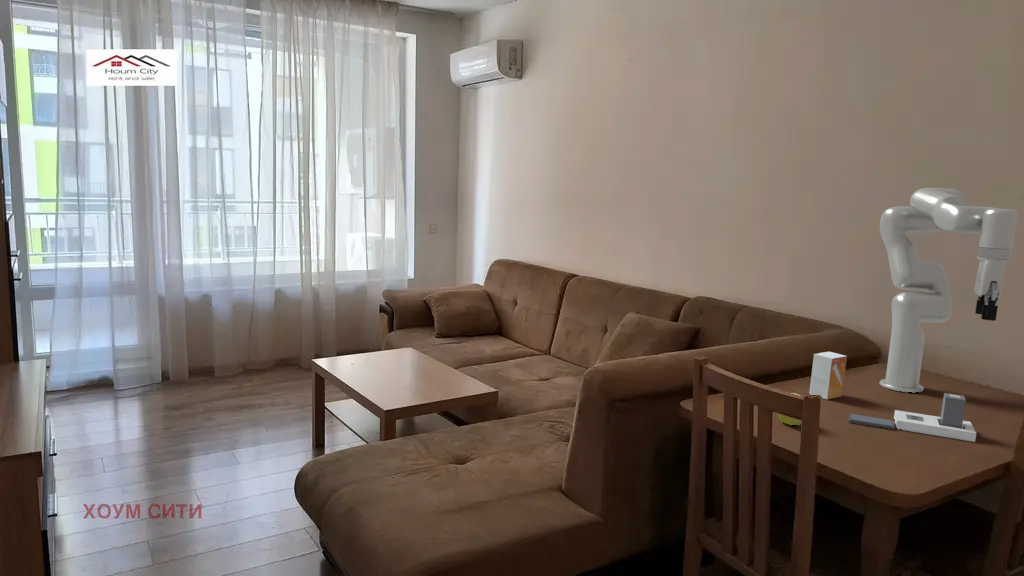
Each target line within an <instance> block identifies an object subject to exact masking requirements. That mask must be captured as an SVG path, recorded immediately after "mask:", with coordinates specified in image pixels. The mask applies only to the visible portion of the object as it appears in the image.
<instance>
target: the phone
mask: <svg viewBox="0 0 1024 576" xmlns="http://www.w3.org/2000/svg"><path fill="white" fill-rule="evenodd" d="M848 423H849V424H854V423H855V425H860V424H862V425H861V426H866V425H870V426H869V427H872V426H876V427H875V428H878V427H883V428H882V429H884V428H888V429H887V430H890V429H893V430H892V431H894V430H895V429H896V426H895V421H894V419H893V420H892V419H887V418H880V417H874V416H868V415H862V414H855V413H848Z"/></svg>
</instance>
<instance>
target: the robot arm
mask: <svg viewBox="0 0 1024 576" xmlns="http://www.w3.org/2000/svg"><path fill="white" fill-rule="evenodd" d="M964 199H965V198H964V196H963V194H962V193H961V192H960V191H959V190H958V189H955V188H948V187H947V188H946V187H944V188H943V187H942V188H941V187H924V188H920V189H918V190H915V191H914V192H913V193H912V194H911V196H910V200H909V204H910V205H909V206H906V205H898V206H891V207H889V208H887V209H886V210H884V211H883V213H882V214H881V217H880V221H879V232H880V237H881V239H882V242H883V244H884V246H885V249H886V252H887V258H888V264H889V265H888V266H889V270H890V276H891V281H892V283H893V285H894V287H895V288H897V289H900V290H906V291H904V292H899V293H898V294H895V296H893V298H892V300H891V303H890V304H891V306H890V307H891V308H890V309H891V332H890V342H889V349H888V357H887V366H886V373H885V378H883V379H880V380H879V385H880V386H882V387H883V388H884V389H889V390H892V391H896V392H900V391H901V393H908V392H912V393H913V394H917V393H916V392H919V393H923V391H924V390H925V387H924V386H923V385H922V384H920V378H921V377H920V376H921V371H922V370H921V368H922V362H923V354H924V346H925V337H926V336H925V332H924V330H923V328H922V327H921V325H920V323H945V322H947V321H949V320H950V318H951V317H952V315H953V311H954V310H953V309H954V308H953V307H954V306H953V300H952V299H953V298H952V293H951V288H950V284H949V283H950V282H949V279H948V274H947V272H946V269H945V268H944V267H943V265H942V264H940V263H939V262H936V261H930V260H929V261H926V260H923V261H922V260H920V258H919V255H918V249H917V246H916V245H915V243H914V242H913V241H912V239H911V238H910V237H909V236H908V235H906V233H913V234H914V233H915V234H916V233H917V234H932V233H936V232H937V231H939V230H941V229H942V230H944V231H947V232H951V233H956V234H976V235H980V236H979V241H978V249H977V255H976V260H980V261H979V265H978V269H977V273H976V279H975V284H974V289H973V292H974V293H975V294H976V295H977V299H976V305H975V315H981V317H980V319H982V321H983V320H984V321H993V322H995V321H996V320H997V314H998V307H999V306H998V305H999V298H1000V297H1001V296H1002V291H1003V284H1004V278H1005V271H1006V263H1007V262H1008V263H1010V262H1011V260H1012V253H1013V247H1014V241H1015V234H1016V228H1017V227H1016V226H1017V221H1018V212H1017V211H1016V210H1015V209H1012V208H1011V209H1010V208H999V207H998V208H997V207H990V206H977V205H976V206H974V205H973V206H972V205H965V200H964ZM907 290H908V291H907ZM924 291H925V292H924Z"/></svg>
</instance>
